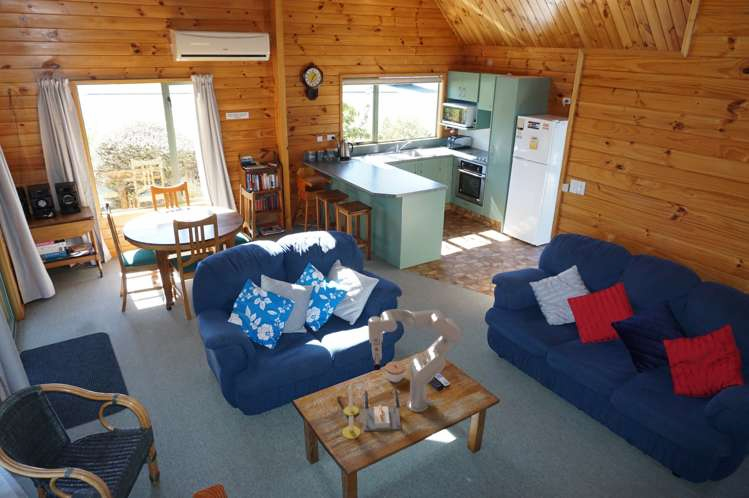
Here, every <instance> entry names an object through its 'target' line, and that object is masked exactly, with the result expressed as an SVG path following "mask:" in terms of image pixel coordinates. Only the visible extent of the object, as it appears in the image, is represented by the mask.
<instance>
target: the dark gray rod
mask: <svg viewBox="0 0 749 498" xmlns="http://www.w3.org/2000/svg"><path fill="white" fill-rule="evenodd" d="M394 393H395V398H396V406H397V408H399V407H400V402H399V401H400V400H399V394H398V390H397V389H394ZM400 408H401V407H400Z"/></svg>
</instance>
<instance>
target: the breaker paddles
mask: <svg viewBox="0 0 749 498" xmlns="http://www.w3.org/2000/svg"><path fill="white" fill-rule="evenodd" d="M378 407H379V409H380V418H381V420H382V419H383V415H382V407H383V406H382V404H379V405H378Z"/></svg>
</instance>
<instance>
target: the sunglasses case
mask: <svg viewBox="0 0 749 498" xmlns="http://www.w3.org/2000/svg"><path fill="white" fill-rule="evenodd" d="M336 400H337V402H338V403H339V406H340V408H341V409H342V410H343V409H344V407H345V406H347V405H349V396H341V395H339V396H337V399H336ZM353 405H355V403H354V402H353ZM345 416H346V417H347V419H349V415H346V414H345ZM357 416H361V413H360V410H359V411H358V413H357V414H355V415H353V418H355V417H357Z"/></svg>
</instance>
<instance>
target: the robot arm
mask: <svg viewBox="0 0 749 498" xmlns="http://www.w3.org/2000/svg"><path fill="white" fill-rule="evenodd" d="M397 322H403V323H405V324H407V325H409V326H410V327H413V328H423V327H431V328H432V330H433V331H434V332H435V333H437V335H439V336H438V338H437V339H436V340H435V341H434V342H432V344H430V346H428V348H426V349H425V351H424V352H423V353H424V358H425V359H424V358H423V357H420V356H416V357H414V358H412V359H411V360H410V363H409V378H410V379H409V381H410V382H409V398H408V400H407V401H406V407H407V409H409V410H410V411H411V412H415V413H421V412H425V411H426V410H427V409H428V408H429V405H434V404H435V403H434V400H432V397H427V384H429V382H431V381H432V380H433V379H434V378H435V377H436V376H437V375H439V374H440V373H441V372H442V371H443V369H444V368H445V366H446V358H445V357H444V355H445V354H446V353H447V352H448V351H449V350H450V349H451V348H452V346H453V344H455V343H458V342H459V341H460V340H461V339H462V332H461V330H460V329H459V327H458V326H457V324H456V322H455V321H454V319H452V318H450V317H444V315H443V313H442V312H441V311H440V310H438V309H431V310H430V309H429V310H421V311H410V310H406V309H401V308H396V309H395V308H394V309H388V310H384V311H383V312H382V313H380V316H376V315H375V316H370V318H369V319H368V320H367V325H368V341H369V343H370V344H371V353H372V359H373V361H374V363H373V364H374V366H373V367H374V371H381V362H380V360H381V361H382V360H383V353H382V350H383V349H382V343H383V341H384V334H383V332H385V333H392V332H395V331H396V330H397V329H398V323H397Z"/></svg>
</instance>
